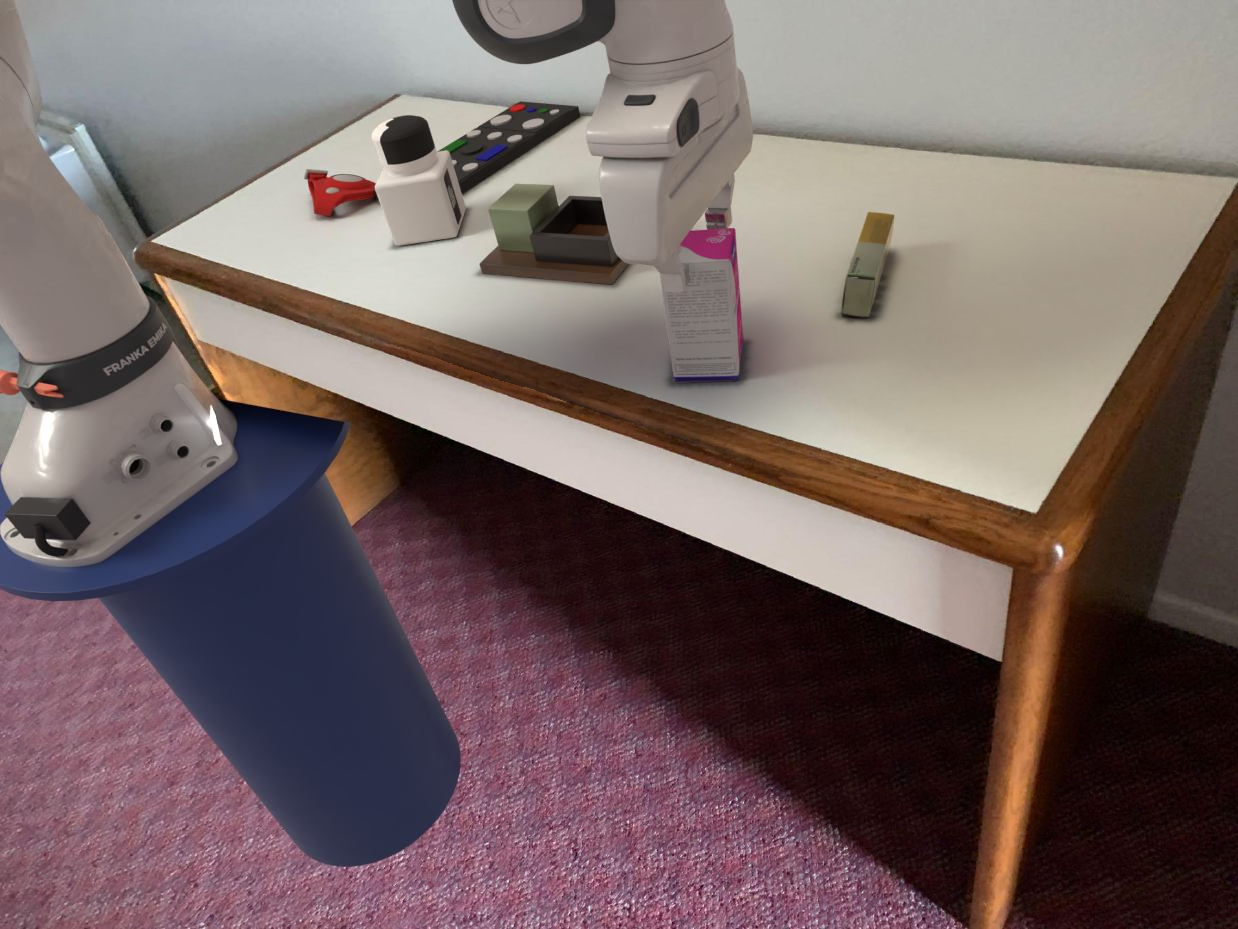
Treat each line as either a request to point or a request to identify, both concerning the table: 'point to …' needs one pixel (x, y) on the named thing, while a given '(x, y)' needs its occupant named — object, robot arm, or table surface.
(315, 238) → the table surface
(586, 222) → the desk organizer
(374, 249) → the table surface
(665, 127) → the robot arm
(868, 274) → the medication box
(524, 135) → the remote control
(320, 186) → the red plastic curved piece
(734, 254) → the supplement box
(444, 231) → the container
